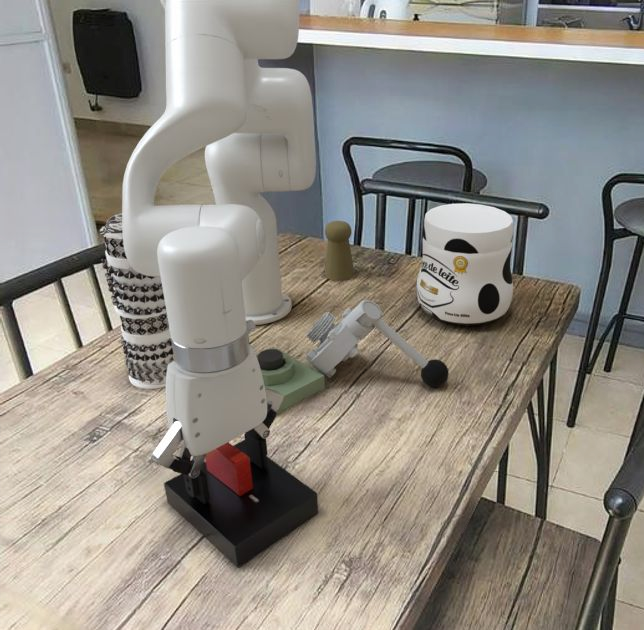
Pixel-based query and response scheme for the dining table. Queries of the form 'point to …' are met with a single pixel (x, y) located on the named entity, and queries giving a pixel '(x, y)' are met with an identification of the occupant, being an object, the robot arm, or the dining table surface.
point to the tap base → (246, 509)
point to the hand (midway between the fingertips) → (229, 478)
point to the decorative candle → (137, 312)
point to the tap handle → (230, 468)
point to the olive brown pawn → (338, 251)
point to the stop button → (270, 359)
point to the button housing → (293, 381)
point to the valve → (354, 327)
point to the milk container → (466, 264)
